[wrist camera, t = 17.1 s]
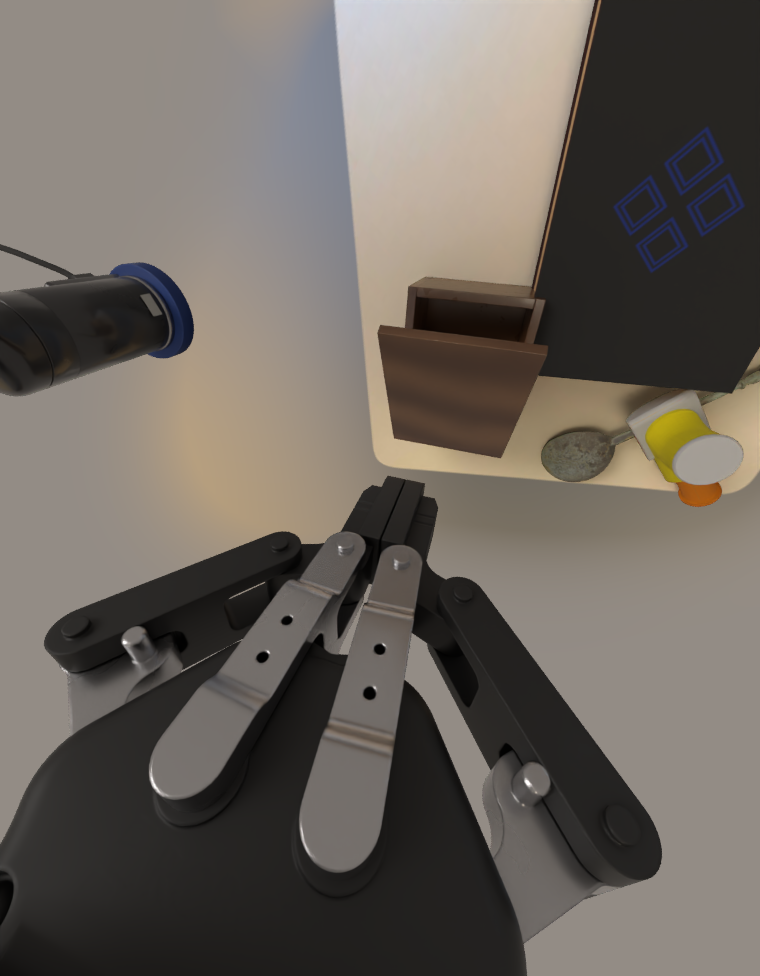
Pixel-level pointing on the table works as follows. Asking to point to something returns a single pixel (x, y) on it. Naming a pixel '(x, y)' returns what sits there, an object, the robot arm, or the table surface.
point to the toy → (685, 445)
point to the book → (658, 201)
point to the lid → (457, 387)
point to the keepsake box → (474, 309)
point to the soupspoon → (597, 447)
